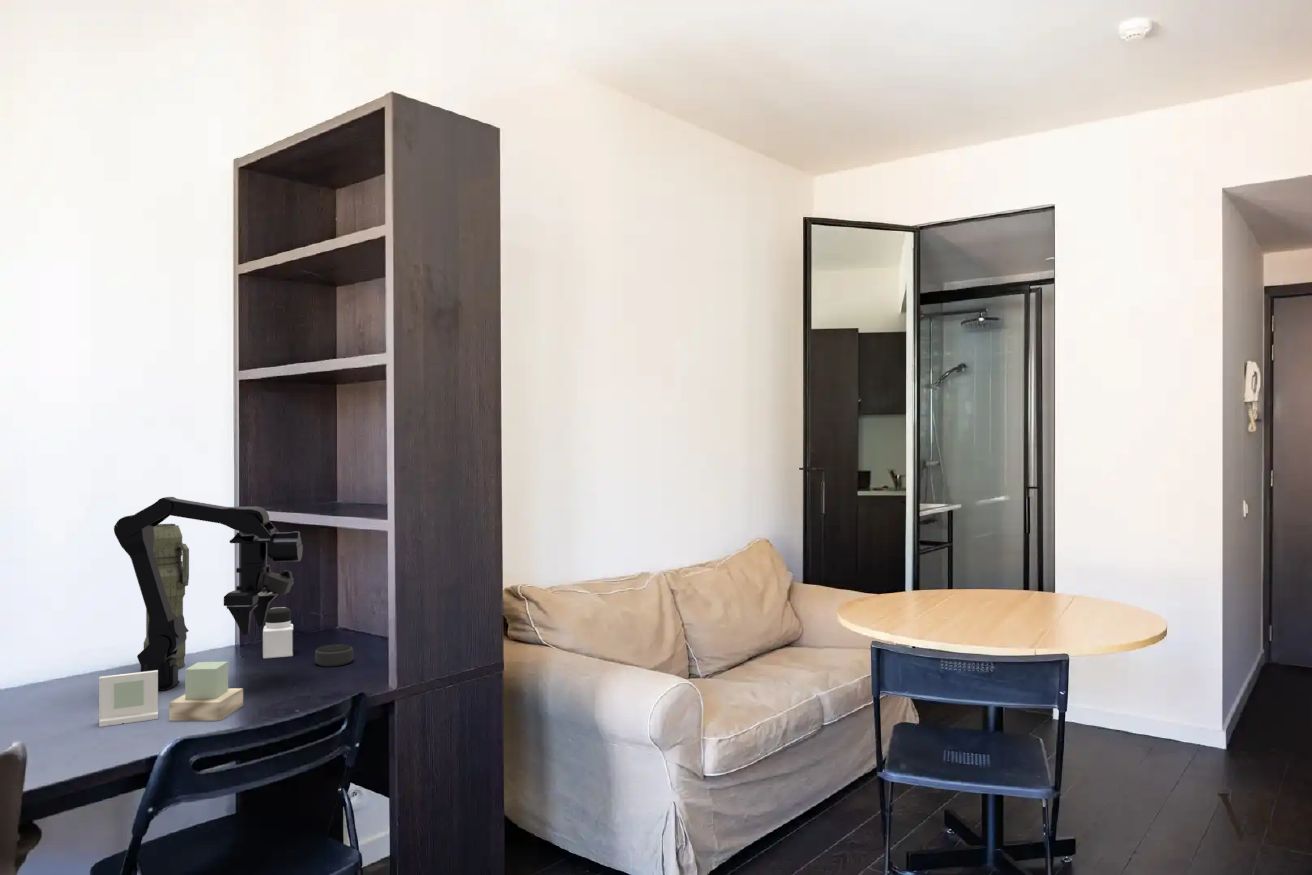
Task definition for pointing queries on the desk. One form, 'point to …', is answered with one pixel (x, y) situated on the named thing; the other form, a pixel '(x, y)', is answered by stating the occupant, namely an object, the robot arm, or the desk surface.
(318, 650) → the smart speaker
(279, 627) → the medicine bottle
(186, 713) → the birch block
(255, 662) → the desk surface
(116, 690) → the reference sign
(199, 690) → the sage cube
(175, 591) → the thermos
